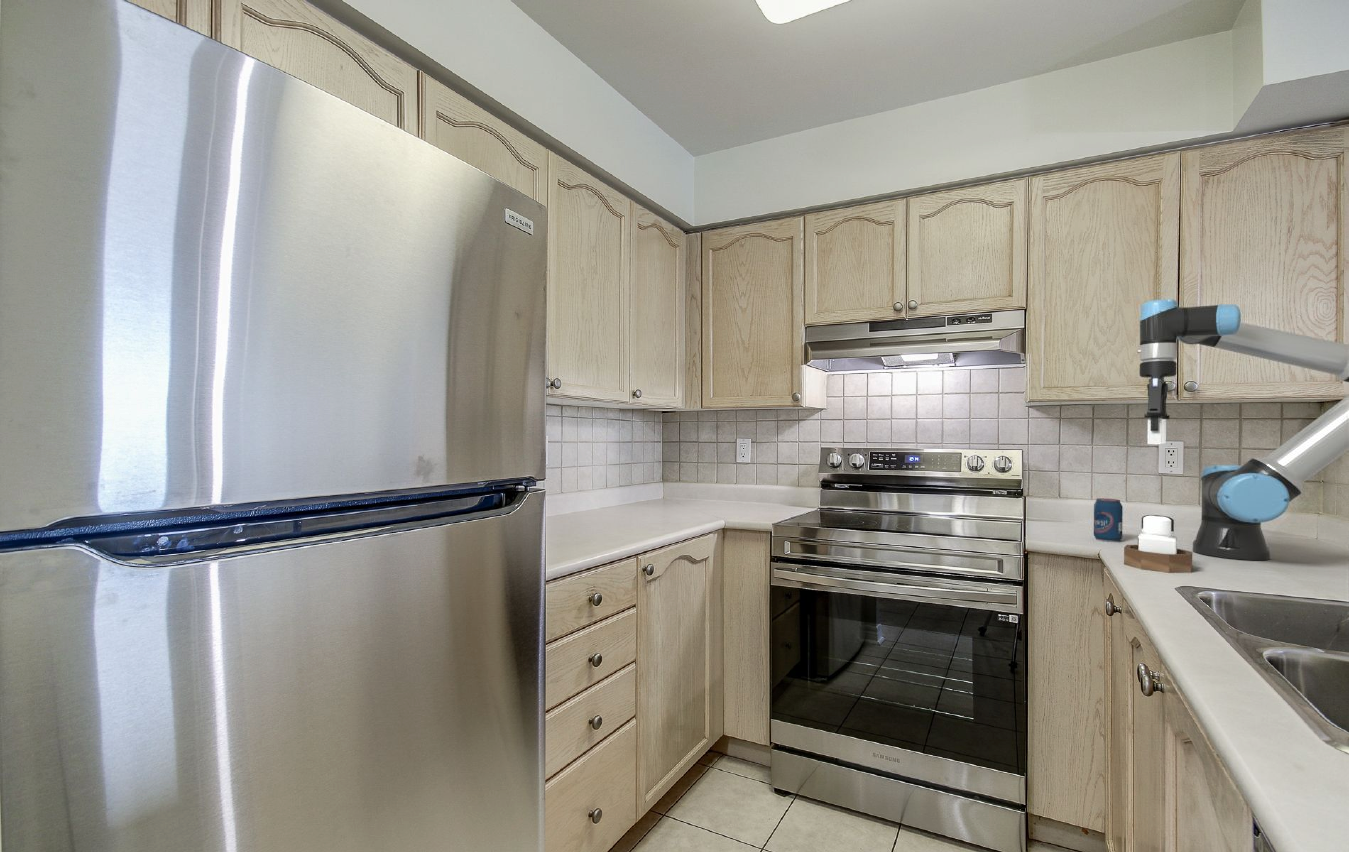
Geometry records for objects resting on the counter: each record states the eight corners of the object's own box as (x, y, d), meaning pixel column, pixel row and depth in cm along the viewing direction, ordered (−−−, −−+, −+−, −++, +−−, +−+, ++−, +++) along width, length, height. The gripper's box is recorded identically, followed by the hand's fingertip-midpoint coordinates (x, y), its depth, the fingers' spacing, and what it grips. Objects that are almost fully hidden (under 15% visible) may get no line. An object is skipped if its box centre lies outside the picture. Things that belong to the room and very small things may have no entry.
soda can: (1088, 539, 185) (1089, 498, 185) (1101, 537, 188) (1101, 497, 189) (1114, 543, 179) (1114, 501, 179) (1127, 541, 182) (1127, 500, 182)
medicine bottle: (1139, 562, 153) (1139, 512, 153) (1176, 566, 149) (1177, 515, 149) (1137, 566, 148) (1137, 515, 148) (1176, 571, 143) (1176, 518, 143)
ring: (1161, 561, 154) (1161, 544, 154) (1206, 572, 142) (1206, 555, 142) (1112, 561, 154) (1112, 544, 154) (1153, 572, 141) (1153, 554, 141)
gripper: (1144, 366, 173) (1144, 443, 172) (1133, 357, 154) (1133, 444, 154) (1179, 364, 168) (1179, 443, 167) (1172, 355, 149) (1171, 444, 149)
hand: (1157, 444), depth 161 cm, fingers open, 13 cm apart
